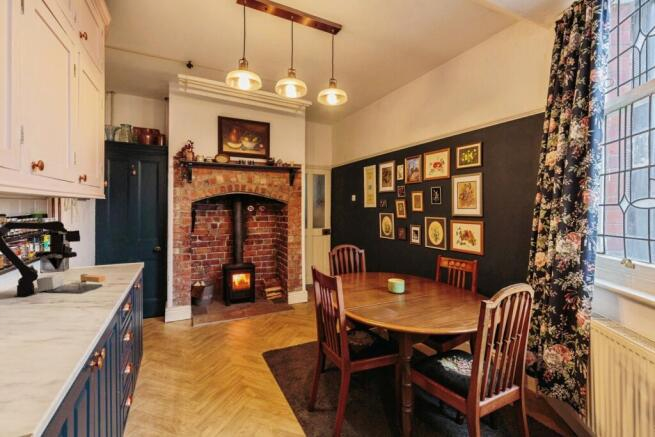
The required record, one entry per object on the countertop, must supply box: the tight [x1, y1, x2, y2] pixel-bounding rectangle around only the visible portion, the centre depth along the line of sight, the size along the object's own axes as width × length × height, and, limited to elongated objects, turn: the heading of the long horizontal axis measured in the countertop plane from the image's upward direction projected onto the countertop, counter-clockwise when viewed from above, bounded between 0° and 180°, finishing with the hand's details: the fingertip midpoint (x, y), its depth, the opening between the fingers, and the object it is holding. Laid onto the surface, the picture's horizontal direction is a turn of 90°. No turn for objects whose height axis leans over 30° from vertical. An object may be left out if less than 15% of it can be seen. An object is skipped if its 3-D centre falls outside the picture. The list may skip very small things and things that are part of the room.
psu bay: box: [46, 280, 103, 294], centre depth 178 cm, size 16×20×4 cm
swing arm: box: [80, 273, 106, 284], centre depth 183 cm, size 16×4×3 cm, turn 77°
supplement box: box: [36, 273, 65, 292], centre depth 176 cm, size 7×7×13 cm
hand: (56, 269), depth 173 cm, fingers closed
